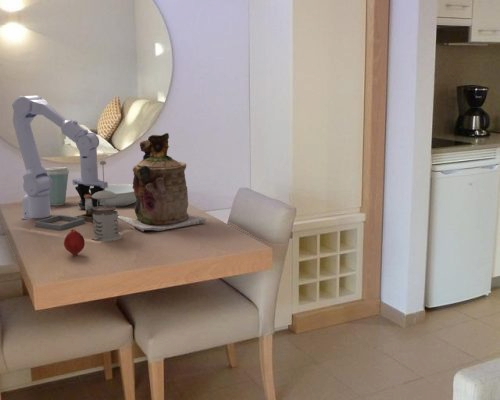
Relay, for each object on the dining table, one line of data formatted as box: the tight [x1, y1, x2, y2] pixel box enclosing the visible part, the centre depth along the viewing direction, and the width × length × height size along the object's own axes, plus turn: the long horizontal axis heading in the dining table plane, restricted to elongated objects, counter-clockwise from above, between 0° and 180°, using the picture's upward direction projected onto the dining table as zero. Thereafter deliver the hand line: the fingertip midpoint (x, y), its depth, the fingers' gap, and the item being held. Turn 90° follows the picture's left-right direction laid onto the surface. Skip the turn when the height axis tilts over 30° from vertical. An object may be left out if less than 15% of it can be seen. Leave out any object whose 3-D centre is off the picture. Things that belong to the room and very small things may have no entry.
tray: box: [34, 214, 86, 231], centre depth 210 cm, size 12×12×2 cm
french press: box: [91, 160, 123, 242], centre depth 196 cm, size 10×12×25 cm
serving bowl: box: [89, 183, 137, 208], centre depth 244 cm, size 21×21×7 cm
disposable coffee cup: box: [45, 166, 70, 206], centre depth 245 cm, size 11×11×15 cm
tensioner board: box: [74, 212, 120, 223], centre depth 221 cm, size 13×13×4 cm
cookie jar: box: [117, 132, 207, 232], centre depth 214 cm, size 25×25×32 cm
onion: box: [63, 228, 86, 256], centre depth 177 cm, size 6×6×8 cm
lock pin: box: [84, 192, 96, 214], centre depth 216 cm, size 5×5×7 cm
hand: (91, 206), depth 217 cm, fingers closed on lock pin, 4 cm apart
